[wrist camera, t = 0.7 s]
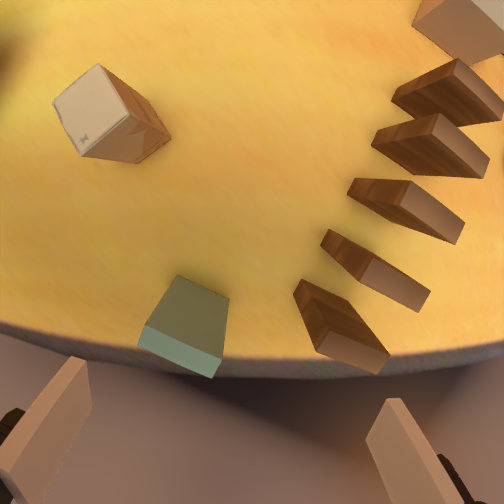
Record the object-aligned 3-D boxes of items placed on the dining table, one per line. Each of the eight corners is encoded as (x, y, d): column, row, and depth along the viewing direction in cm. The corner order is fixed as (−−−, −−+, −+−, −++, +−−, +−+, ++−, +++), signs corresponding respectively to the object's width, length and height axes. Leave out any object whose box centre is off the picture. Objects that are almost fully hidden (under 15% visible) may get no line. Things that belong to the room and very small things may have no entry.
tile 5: (432, 131, 27) (501, 120, 17) (391, 101, 27) (453, 74, 16) (437, 118, 27) (505, 103, 16) (396, 88, 26) (458, 57, 16)
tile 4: (413, 175, 28) (483, 178, 18) (370, 145, 28) (431, 133, 17) (420, 160, 28) (490, 158, 17) (377, 130, 27) (439, 112, 17)
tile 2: (365, 269, 30) (418, 312, 20) (320, 245, 30) (359, 282, 19) (374, 254, 30) (431, 291, 19) (328, 228, 29) (373, 257, 19)
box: (172, 139, 27) (132, 118, 16) (135, 165, 28) (79, 161, 17) (145, 96, 26) (97, 59, 15) (110, 123, 26) (48, 102, 16)
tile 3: (391, 221, 29) (455, 245, 19) (346, 194, 29) (399, 205, 18) (399, 206, 29) (465, 222, 18) (354, 178, 28) (411, 180, 18)
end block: (411, 26, 24) (458, -10, 15) (423, -3, 23) (465, -38, 13) (464, 67, 25) (518, 47, 16) (472, 37, 24) (521, 14, 14)
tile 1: (339, 315, 32) (377, 374, 21) (292, 294, 31) (316, 351, 20) (347, 300, 31) (390, 355, 21) (301, 278, 31) (329, 330, 20)
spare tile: (221, 314, 31) (211, 378, 20) (170, 290, 30) (137, 345, 20) (229, 299, 31) (222, 359, 20) (177, 274, 30) (144, 324, 19)
